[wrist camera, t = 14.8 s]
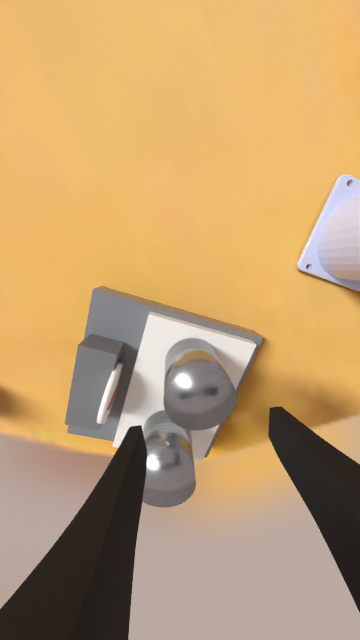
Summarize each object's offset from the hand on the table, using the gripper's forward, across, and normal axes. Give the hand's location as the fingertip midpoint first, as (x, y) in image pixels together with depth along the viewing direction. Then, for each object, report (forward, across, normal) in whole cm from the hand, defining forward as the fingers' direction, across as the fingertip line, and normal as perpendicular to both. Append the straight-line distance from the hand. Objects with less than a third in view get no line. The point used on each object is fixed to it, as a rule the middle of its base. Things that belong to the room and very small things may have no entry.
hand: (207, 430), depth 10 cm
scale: (+10, +3, +3) cm, 11 cm away
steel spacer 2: (+7, 0, 0) cm, 7 cm away
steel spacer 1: (+7, +3, +7) cm, 10 cm away
